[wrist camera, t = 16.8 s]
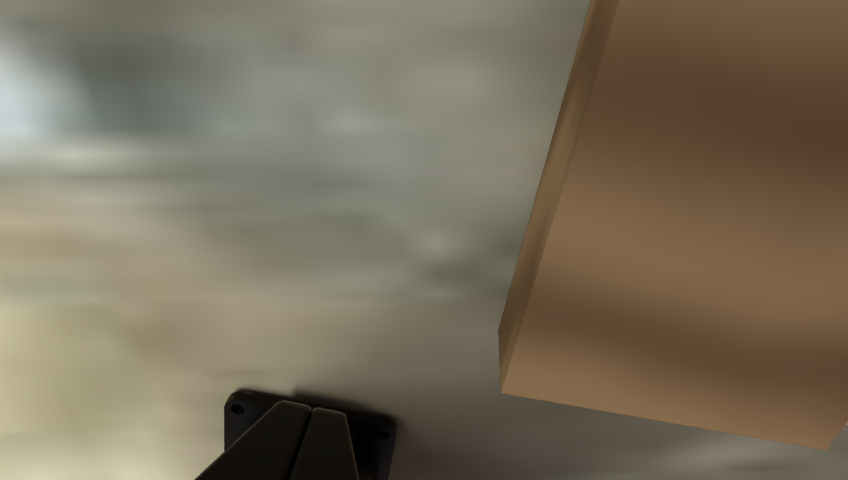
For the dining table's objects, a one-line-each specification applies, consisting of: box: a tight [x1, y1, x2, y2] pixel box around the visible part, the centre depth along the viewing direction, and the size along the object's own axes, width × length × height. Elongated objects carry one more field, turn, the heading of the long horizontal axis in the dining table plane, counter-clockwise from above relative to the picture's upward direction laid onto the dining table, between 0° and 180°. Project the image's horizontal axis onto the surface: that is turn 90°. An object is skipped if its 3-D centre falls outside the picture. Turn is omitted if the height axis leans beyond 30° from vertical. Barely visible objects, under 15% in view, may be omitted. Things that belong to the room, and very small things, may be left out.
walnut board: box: [498, 0, 848, 450], centre depth 16 cm, size 18×10×3 cm, turn 171°
